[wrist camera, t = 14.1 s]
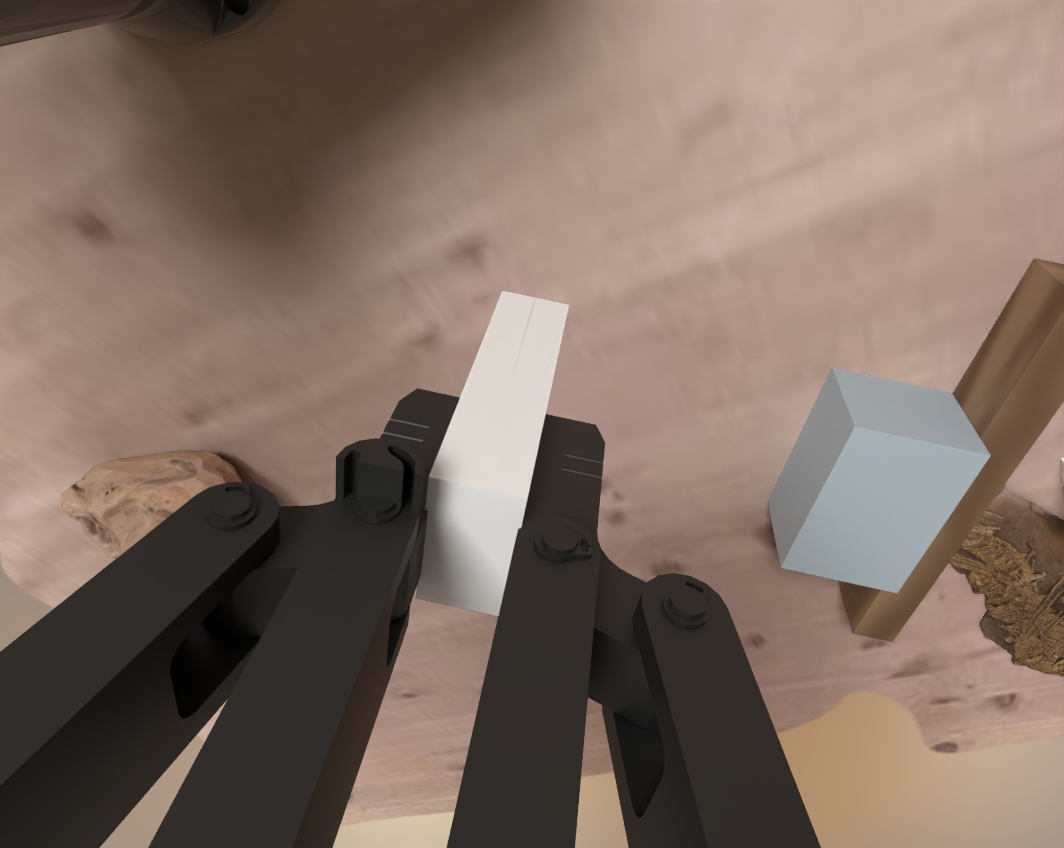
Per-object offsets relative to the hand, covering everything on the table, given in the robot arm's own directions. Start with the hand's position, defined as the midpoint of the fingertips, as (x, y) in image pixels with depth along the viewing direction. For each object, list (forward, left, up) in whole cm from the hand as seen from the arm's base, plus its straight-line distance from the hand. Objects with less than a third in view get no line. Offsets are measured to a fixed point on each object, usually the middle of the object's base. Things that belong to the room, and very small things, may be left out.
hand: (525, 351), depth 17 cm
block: (+22, -20, -30) cm, 42 cm away
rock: (-28, -36, -30) cm, 55 cm away
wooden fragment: (+42, -29, -30) cm, 59 cm away
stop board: (+28, -18, -29) cm, 44 cm away
